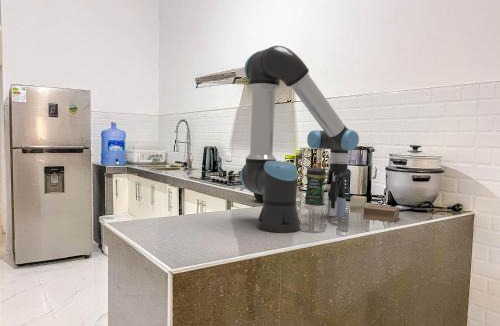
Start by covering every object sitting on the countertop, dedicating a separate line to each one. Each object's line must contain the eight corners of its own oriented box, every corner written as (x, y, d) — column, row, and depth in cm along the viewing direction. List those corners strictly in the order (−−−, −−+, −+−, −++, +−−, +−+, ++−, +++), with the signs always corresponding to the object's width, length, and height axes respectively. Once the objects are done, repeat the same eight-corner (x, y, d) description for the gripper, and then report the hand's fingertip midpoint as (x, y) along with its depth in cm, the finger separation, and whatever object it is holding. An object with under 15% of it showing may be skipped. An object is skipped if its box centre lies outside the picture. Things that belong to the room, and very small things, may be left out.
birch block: (363, 213, 175) (364, 198, 175) (350, 212, 178) (350, 196, 178) (366, 211, 181) (366, 196, 180) (352, 210, 183) (353, 195, 183)
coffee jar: (303, 203, 198) (304, 167, 197) (308, 202, 205) (309, 167, 204) (321, 205, 193) (323, 168, 193) (326, 204, 200) (327, 168, 199)
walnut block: (393, 223, 156) (394, 211, 156) (363, 219, 162) (363, 207, 162) (398, 219, 166) (399, 207, 166) (370, 215, 172) (370, 204, 172)
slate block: (341, 217, 165) (342, 200, 164) (327, 215, 167) (328, 199, 167) (345, 215, 170) (345, 199, 170) (331, 213, 173) (332, 197, 172)
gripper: (340, 164, 156) (338, 219, 157) (353, 162, 176) (351, 211, 177) (322, 163, 159) (320, 217, 160) (337, 162, 180) (335, 209, 181)
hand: (336, 214), depth 169 cm, fingers open, 10 cm apart
